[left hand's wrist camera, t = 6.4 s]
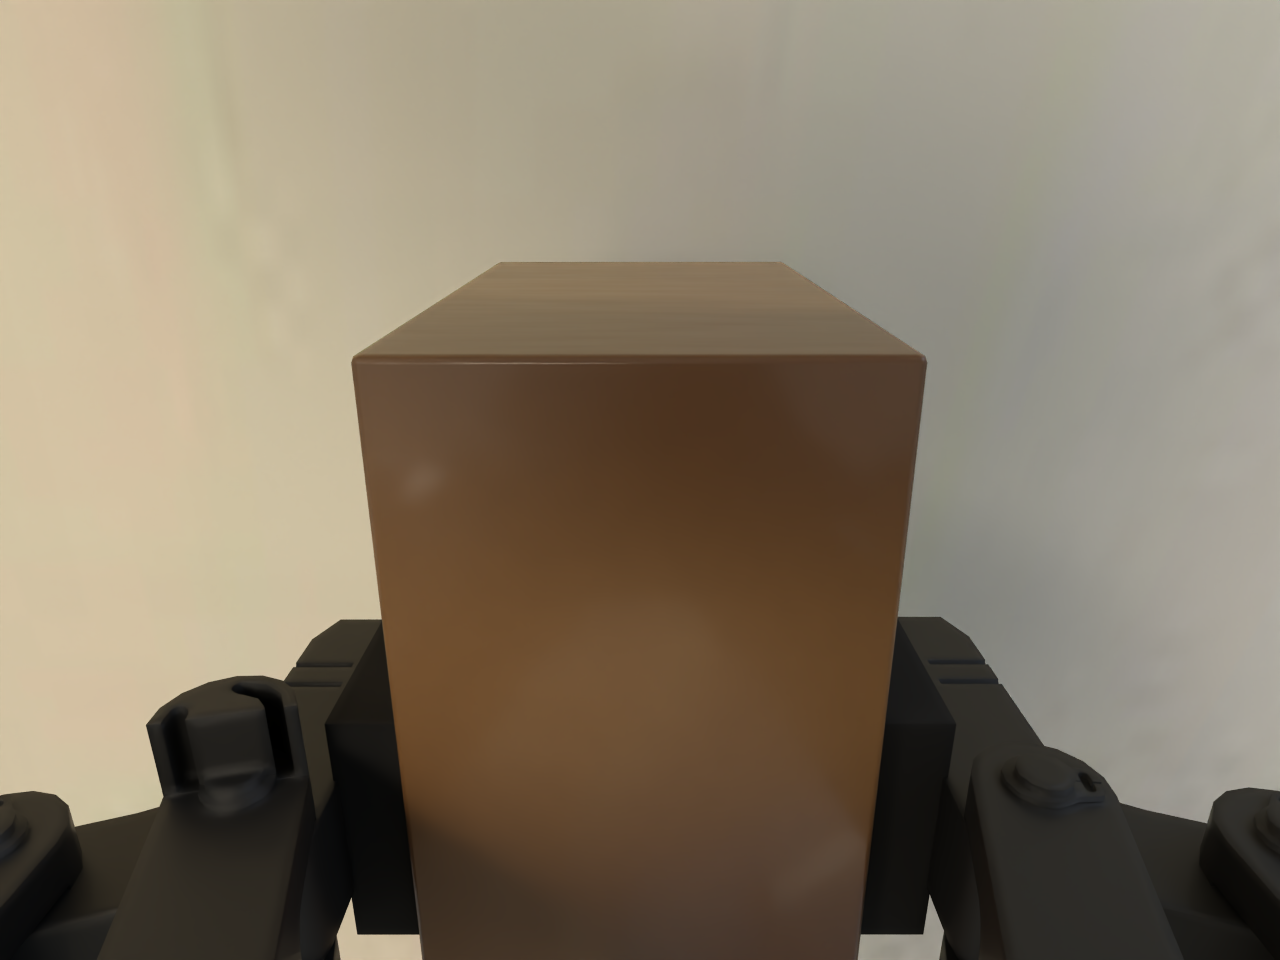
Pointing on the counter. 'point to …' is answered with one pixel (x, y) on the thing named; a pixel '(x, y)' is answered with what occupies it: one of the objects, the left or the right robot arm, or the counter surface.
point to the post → (639, 605)
